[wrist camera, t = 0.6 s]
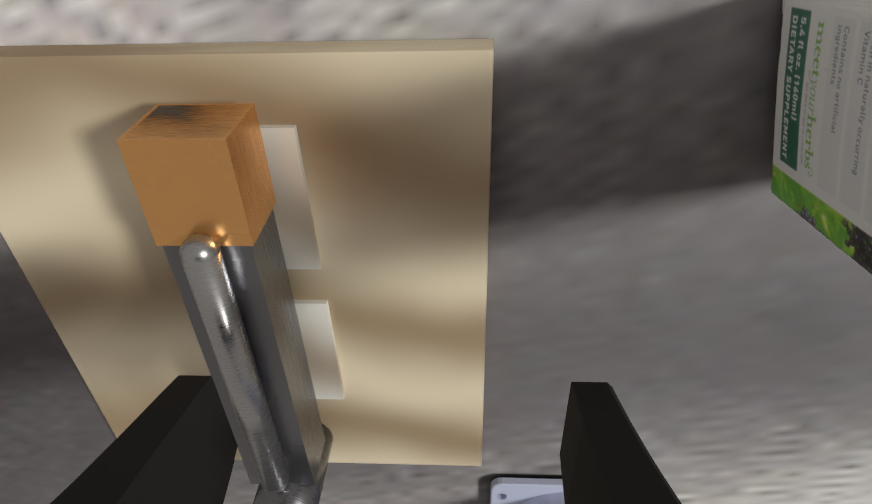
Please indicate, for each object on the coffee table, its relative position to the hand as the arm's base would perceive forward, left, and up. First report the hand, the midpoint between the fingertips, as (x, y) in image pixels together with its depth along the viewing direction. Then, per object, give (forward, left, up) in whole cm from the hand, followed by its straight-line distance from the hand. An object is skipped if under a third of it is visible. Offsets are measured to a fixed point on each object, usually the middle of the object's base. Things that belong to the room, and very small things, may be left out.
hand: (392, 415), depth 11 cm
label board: (-5, +6, -9) cm, 12 cm away
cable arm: (-5, +5, -8) cm, 11 cm away
